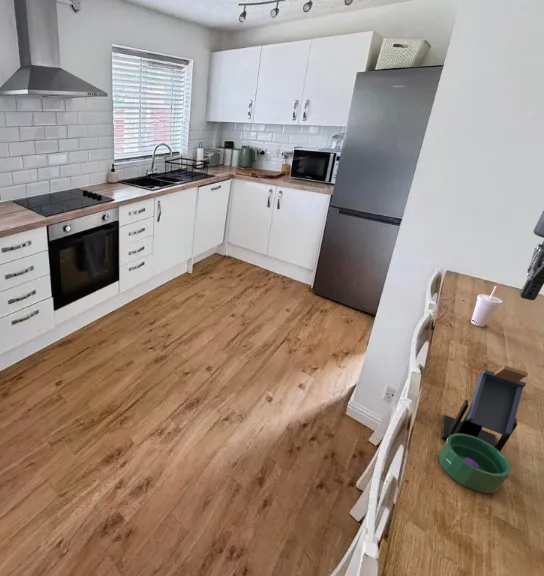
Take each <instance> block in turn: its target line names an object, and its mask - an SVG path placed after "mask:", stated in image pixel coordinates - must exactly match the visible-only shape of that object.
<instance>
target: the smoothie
mask: <svg viewBox="0 0 544 576" xmlns="http://www.w3.org/2000/svg"><path fill="white" fill-rule="evenodd" d="M497 288H498V285H494V288H493V290H492V292H491V294H490V295H489V294H484V293H483V294H482V293H481V294H478V295H477V297H476V303H475V306H474V310H473V313H472V317H471V321H470V324H472V325H474V326H477V327H480V328H481V327H482V328H483V327H485V326H486V325H487V323H489V321H490V319H491V318H492V317H493V315H494V314H495V313H496V311H497V310H498V308H499V307H500V306H502V305H503V300H502V299H501V298H498V297H496V296H494V295H495V292H496V290H497ZM472 320H474V321H475V322H474V321H472ZM476 322H477V323H476Z"/></svg>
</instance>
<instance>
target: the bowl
mask: <svg viewBox="0 0 544 576" xmlns="http://www.w3.org/2000/svg"><path fill="white" fill-rule="evenodd" d="M463 457H467V458H470V459H472V460H474V461H475V462H476V463H477V464H478V467H479V469H478V468H476V467H474V466H472V465H470V464H469V463H467V462H466V461H464V460H463V459H462V458H463ZM438 461H439V463H440V466H441V467H442V469H443V470H444V471H445V472H446V473H447V474H448V475H449V476H450V477H451V478H452V479H453V480H454V481H456V482H458V483H459V484H461V485H462V486H465V487H467V488H469V489H471V490H473V491H476V492H480V493H484V494H493V493H496V492H498V491H499V490H500V488H501V487H502V485H503V484H504V482H505V481H506V479H507V478H508V476H509V475H510V474H511V471H512V466H511V463H510V461H509V460H508V458H507V457H506V456H505V455H504V454H503V453H502V452H501V451H499V450H497V449H496V448H495V447H493V446H492V445H490V444H489V443H487V442H485V441H483V440H481V439H479V438H476V437H474V436H471V435H467V434H458V433H456V434H452V435H450V436H449V437H448V438H447V440H446V442H445V441H444V444H443V446H442V447H441V449H440V451H439V452H438Z"/></svg>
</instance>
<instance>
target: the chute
mask: <svg viewBox="0 0 544 576" xmlns="http://www.w3.org/2000/svg"><path fill="white" fill-rule="evenodd" d="M528 375H529V372H527V371H524V370H520V369H518V368H514V367H511V366H509V365H503V366H502V367H500V368H499V369H498V370H497V371H495V372H494V371H491V370H488V369H484V370H482V372H481V373H479V374H478V378H477V381H476V385H475V388H474V390H473V391H474V392H473V396H472V398H471V402H470V405H469V407H468V411H469V412H468V411H467V413H468V415H467V418H466V421H469V422H472V423H474V424H477V425H479V426H482V428H484V429H487V430H489V431H492V432H495V433H496V434H499V435H501V436H502V435H504V436H507V435H510V434H511V432H512V428H513V425H514V421H515V418H516V416H517V414H518V413H517V412H518V409H519V405H520V401H521V397H522V393H523V389H524V388H525V387H526V386H527V382H525V381H521V380H523V379H524V378H526V377H528ZM512 433H513V432H512ZM511 435H512V434H511Z"/></svg>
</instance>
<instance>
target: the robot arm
mask: <svg viewBox="0 0 544 576" xmlns="http://www.w3.org/2000/svg"><path fill="white" fill-rule="evenodd" d="M533 234H534V235H535V236H537V237H540V238H543V239H544V210H542V213H541V215H540V217H539V218H538V221H537V223H536V225H535V226H534V229H533ZM526 276H527V277H526V278H527V279H526V281H525V283H524V285H523V287H522V289H521V291H520V292H519V295H520V298H521V299H525V300H529V301H535V300H536V299H537V297H538V296H539V293H540V292H541V291H542V288H543V286H544V240H543V241H542V243H538V244H537V245H536V247H535V248H534V250H533V255H532V257H531V259H530V263H529V266H528V268H527V274H526Z"/></svg>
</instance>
